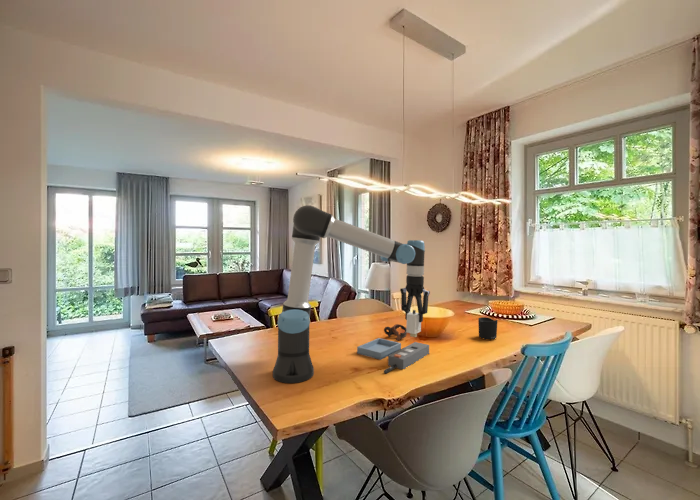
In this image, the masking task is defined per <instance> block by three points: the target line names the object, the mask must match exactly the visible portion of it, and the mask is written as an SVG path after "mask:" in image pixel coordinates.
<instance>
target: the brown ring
mask: <svg viewBox="0 0 700 500" xmlns="http://www.w3.org/2000/svg"><path fill="white" fill-rule="evenodd" d="M400 328H401V329H400ZM397 329H400V330H404V332H399V331H398V330H397ZM383 332H384V333H385V335H386V336H388V338H391V336H396V338H395V341H400V340H402V339H405V338H406V337H407V334H408V333H407V332H406V327H405V325H402V324H398V323H397V324H394V325H393V326H391V327H390V326H385V327H384V328H383Z"/></svg>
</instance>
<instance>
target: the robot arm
mask: <svg viewBox="0 0 700 500" xmlns="http://www.w3.org/2000/svg"><path fill="white" fill-rule="evenodd" d="M292 224H293V225H292V235H291V239H292V240H293V242H294V246H293V254H292V255H293V256H292V261H291V262H292V263H291V267H290V268H291V269H290V277H289V278H290V279H289V286H288V291H287V293H288V294H287V299H286V300H285V301H284V302H283V304H282V312H280V313H279V314H278V317H277V356H276V357H277V358H276V360H275V364H274V367H273V370H272V378H273V379H274V380H275V381H277V382H279V383H285V384H297V383H302V382H306V381H308V380H310V379H311V378H313V377H314V374H315V373H314V372H315V369H314V365H313V362H312V359H311V356H310V324H311V319H310V318H311V308H312V305H311V304H310V303H309V296H310V289H311V280H312V274H313V265H314V258H315V251H316V246H317V244H319V243H320V240H321V238H322V239H326V238H330V239H333V240H334V241H339V242H341V243H343V244H347V245H350V246H352V247H355V248H358V249H360V250H363V251H366V252H369V253H372V254H374V255H377V256H379V259H380V260H381V261H382V262H388V263H390V262H394V263H399V264H402V265H406V280H405V281H406V282H405V283H406V285H405V287H403V288H400V290H399V292H400V294H401V295H400V297H401V298H400V299H401V300H400V301H401V302H400V303H401V307H400V308H401V311H403V312H405V315H404V316H405V317H404V319H405V320H406V321H407V314H409V313H412V312H413V311H411V309H412V308H411V307H412V304H413V303H412V302H413V298H415V301H416V307H417V313H419V314H418V315H417V329H416V330H419V329H421V330H422V322H423V321H424V315H425V314H427V313H428V309H429V296H430V295H431V291H430V290H426V288H425V287H424V284H425V282H424V281H425V280H424V279H425V277H424V275H425V252H426V250H425V248H426V247H425V242H424V240H420V239H418V240H416V239H415V240H414V239H413V240H411V239H408V240H407V242H406V243H402V242H399V241H396V240H393V239H392V238H390V237H386V236H382V235H381V234H378V233H376V232H373V231H369V230H367V229H365V228H362V227H359V226H357V225H353V224H351V223H348V222H345V221H342V220H341V219H337V218H335V217H334V215H333V214H331V213H328V212H326V211H324V210H322V209H320V208H318V207H316V206H312V205H307V204H306V205H302V206H300V207H299V208H297V210H296V211H295V213H294V215H293V218H292ZM422 295H423V298H422Z"/></svg>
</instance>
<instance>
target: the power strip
mask: <svg viewBox="0 0 700 500" xmlns="http://www.w3.org/2000/svg"><path fill="white" fill-rule="evenodd" d="M427 354H428V355H430V345H429V344H427V343H422V342H417V341H414V342H412V343H410V344H408V345H406V346H405V347H403V348H402V347H401V349H400V350H398V351H396V352H395V353H393V354H391V355H389V356H387V357H388V358H387V365H388V367H387V368H386V369H384V370H383V373H384V374H386V375H387V374H388V373H389V372H391V371H393V370H395V369H399V370H402V369H404V370H406V369H407V368H409V367H411V366H412V365H413V364H415V363H416V361H417V362H419V361H420V360H422V359H423V358H424V356H425V357H426V356H428V355H427ZM419 359H420V360H419ZM414 362H415V363H414ZM411 364H412V365H411ZM408 366H409V367H408ZM406 367H407V368H406Z"/></svg>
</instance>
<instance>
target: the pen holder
mask: <svg viewBox="0 0 700 500" xmlns="http://www.w3.org/2000/svg"><path fill="white" fill-rule="evenodd" d="M477 319H478V320H477V321H478V337H479V338H480V337H481V338H480V339H482V338H484V339H483V340H486V339H495V338H496V339H497V335H498V319H495V320H494V319H493V318H491V317H488V316H487V317H485V316H482V317H478V318H477ZM496 339H495V340H496Z"/></svg>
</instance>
